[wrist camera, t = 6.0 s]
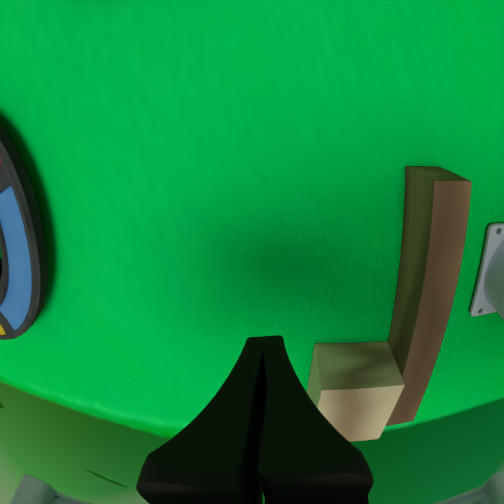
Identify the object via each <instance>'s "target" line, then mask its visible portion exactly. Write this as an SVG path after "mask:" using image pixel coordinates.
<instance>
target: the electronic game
mask: <svg viewBox="0 0 504 504" xmlns="http://www.w3.org/2000/svg"><path fill="white" fill-rule="evenodd" d="M0 246H1V253H2V276H0V339H3V340H5V339H13V338H16V337H18V336H20V335H22V334H23V333H25V332H26V331H27V330H28V329H29V328H30V327H31V326H32V325H33V323H34V322H35V321H36V319H37V318H38V316H39V314H40V312H41V310H42V307H43V304H44V300H45V296H46V290H47V279H48V272H47V253H46V244H45V238H44V232H43V227H42V222H41V218H40V214H39V210H38V206H37V202H36V199H35V195H34V192H33V189H32V186H31V183H30V180H29V178H28V175H27V172H26V170H25V167H24V165H23V163H22V160H21V158H20V156H19V154H18V152H17V150H16V148H15V146H14V144H13V143H12V141H11V139H10V137H9V136H8V134H7V133H6V131H5V130H4V128H3V127H2V126H1V124H0Z"/></svg>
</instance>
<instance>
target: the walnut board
mask: <svg viewBox="0 0 504 504" xmlns="http://www.w3.org/2000/svg"><path fill="white" fill-rule="evenodd" d="M471 182H472V181H470V180H468V179H465V178H463V177H461V176H459V175H457V174H454V173H452V172H450V171H448V170H445V169H443V168H441V167H425V166H405V203H404V221H403V235H402V247H401V257H400V267H399V275H398V283H397V291H396V298H395V305H394V311H393V318H392V324H391V329H390V335H389V340H388V344H389V346H390V348H391V351H392V353H393V356H394V358H395V361H396V363H397V366H398V368H399V371H400V373H401V376H402V379H403V381H404V384H405V385H404V388H403V390H402V392H401V394H400V397H399V399H398V401H397V403H396V405H395V407H394V409H393V411H392V413H391V415H390V417H389V419H388V421H387V423H386V426H389V425H395V424H400V423H405V422H409V421H413V420H414V418H415V415H416V413H417V411H418V408H419V406H420V403H421V401H422V398H423V396H424V393H425V390H426V388H427V385H428V382H429V380H430V377H431V374H432V371H433V368H434V365H435V363H436V359H437V356H438V353H439V350H440V347H441V344H442V340H443V337H444V334H445V330H446V327H447V323H448V319H449V315H450V312H451V308H452V304H453V299H454V295H455V291H456V286H457V282H458V277H459V272H460V267H461V261H462V256H463V250H464V244H465V237H466V230H467V223H468V215H469V205H470V195H471Z"/></svg>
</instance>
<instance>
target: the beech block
mask: <svg viewBox="0 0 504 504" xmlns="http://www.w3.org/2000/svg"><path fill="white" fill-rule="evenodd" d="M404 385H405V384H404V381H403V379H402V376H401V373H400V371H399V368H398V366H397V363H396V361H395V358H394V356H393V353H392V351H391V348H390V346H389V344H388V341H385V342H362V343H315V345H314V352H313V358H312V364H311V370H310V376H309V382H308V388H307V394H308V395H309V397H310V398H311V400H312V401H313V403H314V404H315V405H316V407H317V408H318V409H319V411H320V412H321V413H322V414H323V416H324V417H325V418H326V419H327V420H328V421H329V422H330V423H331V424H332V426H333V427H334V428H335V429H336V430H337V431H338V432H339V433H340V434H341V435H342V436H343V437H344V438H345V439H347V440H348V441H349V442H351V441H361V440H370V439H378V438H379V437H380V435H381V433H382V431H383V429H384V427H385V425H386V423H387V421H388V419H389V417H390V415H391V413H392V411H393V409H394V407H395V405H396V403H397V401H398V399H399V397H400V394H401V392H402V390H403V388H404Z"/></svg>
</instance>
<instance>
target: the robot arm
mask: <svg viewBox="0 0 504 504" xmlns="http://www.w3.org/2000/svg"><path fill="white" fill-rule="evenodd" d="M498 228H499V229H498ZM497 229H498V232H497ZM479 309H480V310H479ZM493 312H498V313H499V315H500V316H501V317H502V318H503V319H504V223H494V224H491V225H489V227H488V229H487V235H486V241H485V246H484V252H483V257H482V262H481V267H480V271H479V276H478V280H477V284H476V289H475V293H474V296H473V300H472V304H471V308H470V314H471V315H472V316H479V315H484V314H489V313H493ZM372 486H373V476H372V473H371V470H370V468H369V466H368V463H367V461H366V460H365V458H364V456H363V454H362V453H361V451H359V450H358V449H357V448H356V447H355V446H353V445H352V444H351V443H350V442H349V441H348V440H347V439H345V438H344V437H343V436H342V435H341V434H340V433H339V432H338V431H337V430H336V429H335V428H334V427H333V426H332V424H331V423H330V422H329V421H328V420H327V419H326V418H325V417H324V416H323V414H322V413H321V412H320V411H319V409H318V408H317V407H316V405H315V404H314V403H313V401H312V400H311V398H310V397H309V395H308V394H307V392H306V391H305V389H304V388H303V386H302V384H301V382H300V381H299V379H298V377H297V375H296V373H295V371H294V369H293V367H292V365H291V363H290V360H289V358H288V355H287V352H286V349H285V346H284V340H283V337H282V336H280V335H279V336H263V337H249V338H248V339H247V340H246V343H245V345H244V348H243V350H242V352H241V354H240V356H239V358H238V360H237V362H236V364H235V366H234V367H233V369H232V371H231V373H230V374H229V376H228V377H227V379H226V380H225V382H224V383H223V385H222V386H221V388H220V389H219V391H218V392H217V393H216V395H215V396H214V397H213V399H212V400H211V401H210V402H209V404H208V405H207V406H206V407H205V408H204V409H203V410H202V411H201V412H200V413H199V415H198V416H197V417H196V418H195V419H194V420H193V421H192V422H191V423H190V424H188V425H187V426H186V427H185V428H184V429H183V430H181V431H180V432H179V433H178V434H177V435H176V436H174V437H173V438H172V439H171V440H169V441H168V442H166V443H165V444H164V445H162V446H161V447H159V448H158V449H156V450H155V451H153V452H152V453H150V454H148V456H147V458H146V461H145V463H144V465H143V467H142V469H141V472H140V476H139V479H138V482H137V486H136V489H137V491H138V492H139V494H140V495H141V496H142V497H143V498H144V499H145V500H146V501H147V502H148V503H149V504H263V493H264V497H265V504H369V502H368V494H369V492H370V490H371V488H372ZM10 504H91V503H87V502H85V501H81V500H78V499H75V498H73V497H70V496H67V495H64V494H62V493H59V492H56V490H55V489H54V488H53V487H51V486H50V485H49V484H47V483H46V482H44V481H42V480H40V479H37V478H35V477H33V476H31V475H28V474H24V475H23V477H22V479H21V481H20V483H19V485H18V487H17V490H16V492H15V494H14V496H13V498H12V501H11V503H10ZM433 504H504V470H502V471H500V472H498V473H496V474H495V475H493V476H492V477H490V478H489V479H488V480H487V482H486V483H485V484H484V485H482V486H480V487H477V488H475V489H472V490H470V491H468V492H465V493H462V494H460V495H457V496H454V497H451V498H449V499H446V500H443V501H440V502H437V503H433Z"/></svg>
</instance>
